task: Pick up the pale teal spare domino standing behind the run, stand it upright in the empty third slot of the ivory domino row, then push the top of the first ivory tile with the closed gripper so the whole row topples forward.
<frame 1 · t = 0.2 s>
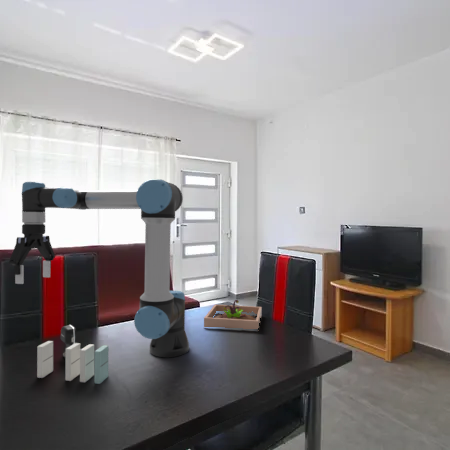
hand: (33, 280, 123), 28 cm above the table, fingers open, 13 cm apart
plant: (234, 323, 164), resting in planter corral
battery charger: (68, 358, 120), on the table
domino 2: (73, 376, 106), on the table
spare domino: (101, 379, 104), on the table
end domino: (45, 374, 107), on the table
planter corral: (234, 321, 164), on the table
domino 1: (87, 378, 105), on the table
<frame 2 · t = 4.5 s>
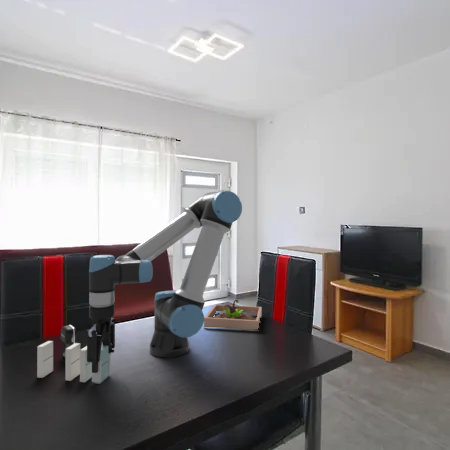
hand: (101, 377, 104), 1 cm above the table, fingers closed on spare domino, 5 cm apart
spare domino: (101, 379, 104), on the table, touching gripper
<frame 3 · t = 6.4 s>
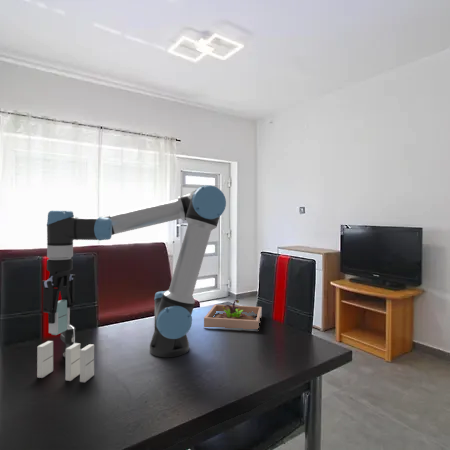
hand: (59, 329, 106), 15 cm above the table, fingers closed on spare domino, 5 cm apart
spare domino: (59, 332, 106), point 14 cm above the table, touching gripper
everything else where it was.
when the fingers open (1 cm above the table, at t = 9.2 s): spare domino stays where it is, on the table.
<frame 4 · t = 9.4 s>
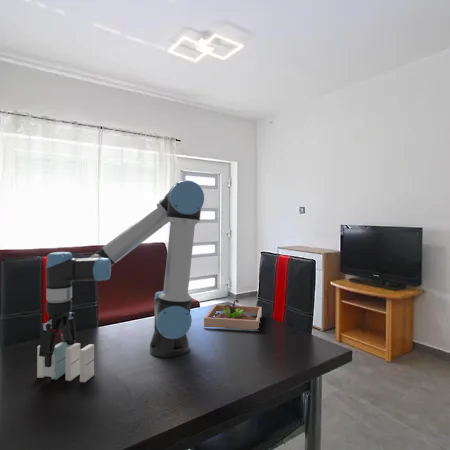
hand: (59, 369, 106), 2 cm above the table, fingers open, 8 cm apart
spare domino: (59, 375, 106), on the table
everything else where it was.
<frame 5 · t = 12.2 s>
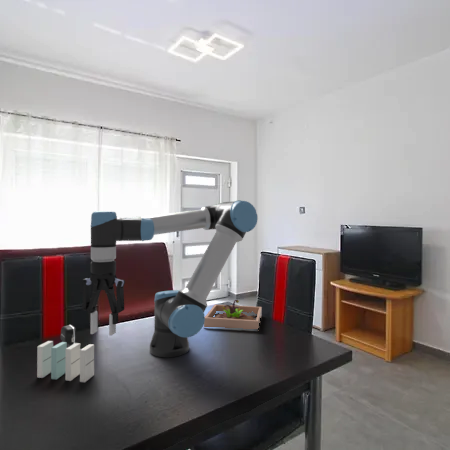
hand: (103, 333, 104), 15 cm above the table, fingers open, 6 cm apart
nothing on the table moved.
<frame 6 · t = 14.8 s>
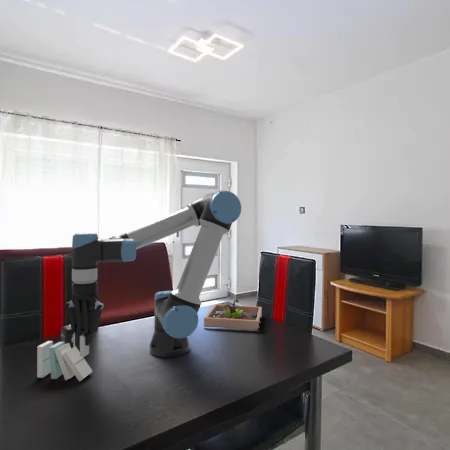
hand: (84, 354, 105), 7 cm above the table, fingers closed
domino 2: (72, 375, 106), on the table, tilted 23°
domino 1: (86, 376, 105), point 1 cm above the table, tilted 39°
everything else where it was.
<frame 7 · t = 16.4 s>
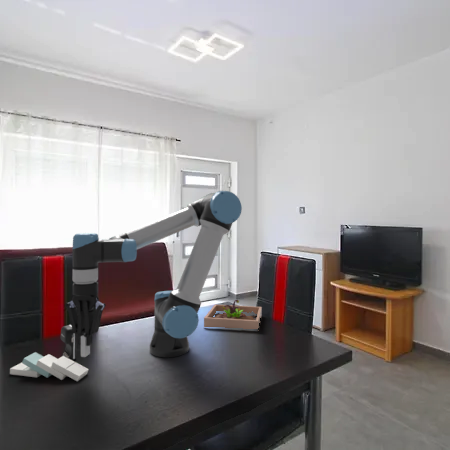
hand: (85, 355, 105), 7 cm above the table, fingers closed
domino 2: (67, 373, 106), point 1 cm above the table, tilted 67°, touching domino 1, spare domino
spare domino: (53, 371, 107), point 1 cm above the table, tilted 67°, touching domino 2, end domino
end domino: (42, 371, 107), point 1 cm above the table, tilted 89°, touching spare domino
domino 1: (83, 375, 105), point 1 cm above the table, tilted 69°, touching domino 2
everything else where it was.
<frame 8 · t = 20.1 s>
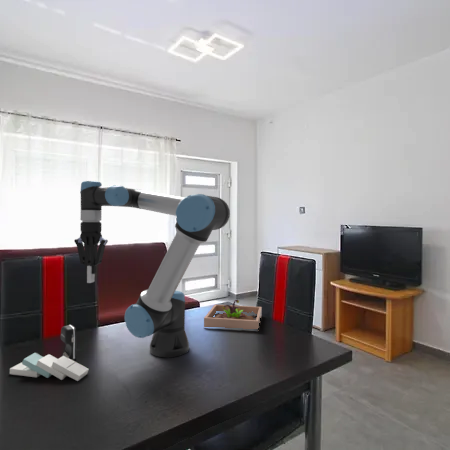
hand: (90, 282, 127), 26 cm above the table, fingers closed
nothing on the table moved.
at the end: end domino tilted 89°; spare domino inside the target area (0.1 cm from its centre), point 0.9 cm above the table; spare domino tilted 67° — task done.
